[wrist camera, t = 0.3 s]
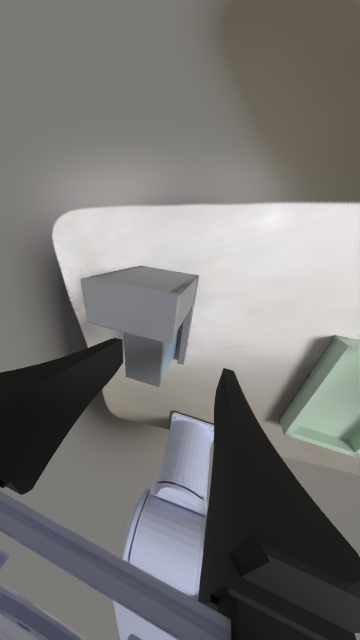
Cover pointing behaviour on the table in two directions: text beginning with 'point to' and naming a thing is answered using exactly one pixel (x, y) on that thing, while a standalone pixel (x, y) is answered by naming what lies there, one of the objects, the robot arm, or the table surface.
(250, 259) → the table surface
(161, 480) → the robot arm
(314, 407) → the tray
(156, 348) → the pale blue block
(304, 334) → the table surface
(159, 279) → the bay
